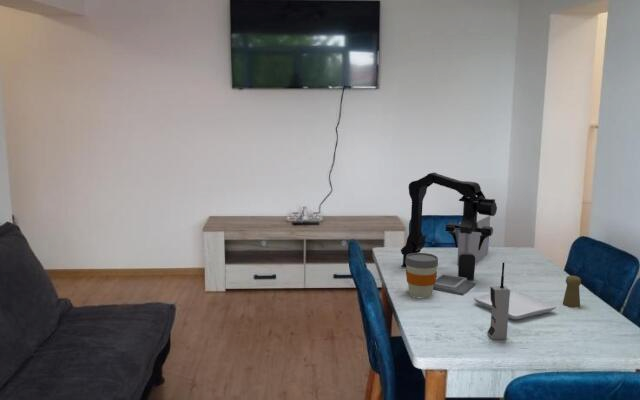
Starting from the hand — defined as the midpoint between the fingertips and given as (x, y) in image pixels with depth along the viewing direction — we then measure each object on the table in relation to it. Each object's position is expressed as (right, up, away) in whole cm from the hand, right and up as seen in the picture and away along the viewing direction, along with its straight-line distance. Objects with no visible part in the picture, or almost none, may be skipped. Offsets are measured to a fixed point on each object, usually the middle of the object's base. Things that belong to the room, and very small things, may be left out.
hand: (467, 248), depth 239 cm
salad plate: (+8, -20, -32) cm, 38 cm away
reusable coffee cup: (-23, -16, -17) cm, 33 cm away
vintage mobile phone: (-6, -24, -57) cm, 62 cm away
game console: (+10, -8, +31) cm, 33 cm away
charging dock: (-10, -15, -7) cm, 19 cm away
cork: (+31, -19, -28) cm, 46 cm away
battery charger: (-1, -13, +2) cm, 13 cm away
